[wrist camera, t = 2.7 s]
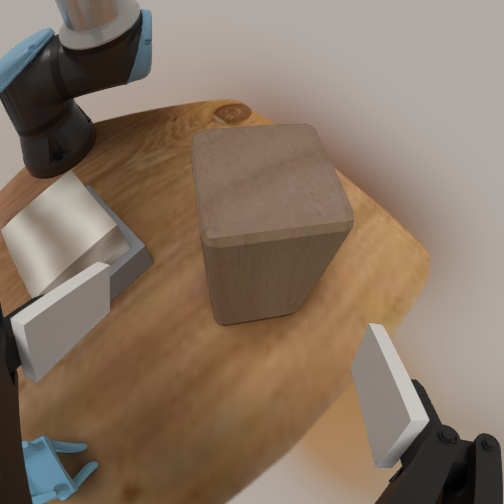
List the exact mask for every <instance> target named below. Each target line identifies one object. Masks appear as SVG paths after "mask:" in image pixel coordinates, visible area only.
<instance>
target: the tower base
mask: <svg viewBox="0 0 504 504" xmlns="http://www.w3.org/2000/svg"><path fill="white" fill-rule="evenodd" d="M85 188H86V189H87V190H88V191H89V192H90V194H91V195H92V196H93V197H94V198H95V200H96V201H97V202H98V203H99V204H100V205H101V207H102V208H103V209H104V210H105V211H106V212H107V214H108V215H109V216H110V217H111V218H112V219H113V220H114V222H115V223H116V224H117V225H118V227H119V229H120V231H121V233H122V234H123V236H124V238H125V240H126V242H127V244H128V245H129V247H130V249H129V250H128V251H126V252H125V253H124V254H123V255H122V256H121V257H119V258H118V259H117V260H116V261H115V262H114V263H113V264H111V265H110V302H111V301H112V300H113V299H115V298H116V297H117V296H118V295H119V294H120V293H121V292H122V291H123V290H124V289H125V288H126V287H128V286H129V285H130V284H131V283H132V282H133V281H134V280H135V279H136V278H137V277H139V276H140V275H141V274H142V273H143V272H144V271H145V270H146V269H147V268H149V267H150V266H151V265H152V264H153V263H154V262H153V260H152V258H151V256H150V254H149V252H148V250H147V248H146V246H145V245H144V244H143V243H142V241H141V240H140V239H139V238H138V237H137V236H136V235H135V234H134V233H133V232H132V231H131V230H130V229H129V228H128V227H127V226H126V225H125V224H124V223H123V222H122V220H121V219H120V218H119V217H118V216H117V215H116V214H115V213H114V212H113V211H112V210H111V209H110V207H109V206H108V205H107V204H106V203H105V202H104V201H103V200H102V199H101V198H100V196H99V195H98V194H97V193H96V192H95V191H94V190H93V189H92V187H91V186H90V185H87V186H86V187H85Z"/></svg>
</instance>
